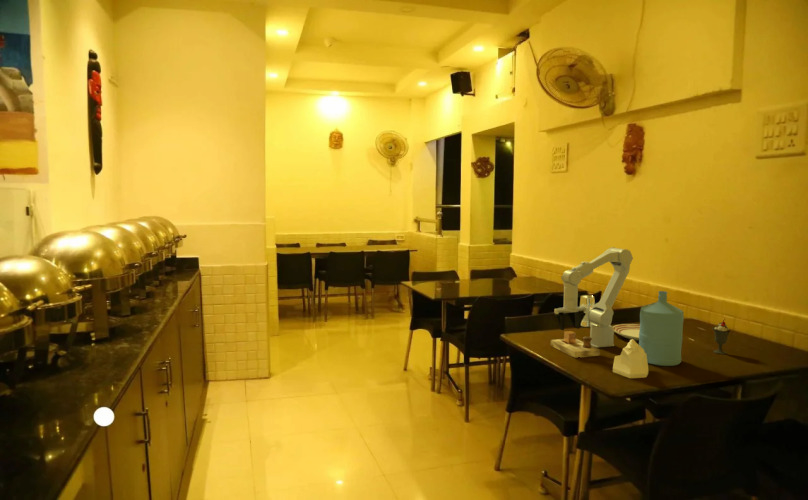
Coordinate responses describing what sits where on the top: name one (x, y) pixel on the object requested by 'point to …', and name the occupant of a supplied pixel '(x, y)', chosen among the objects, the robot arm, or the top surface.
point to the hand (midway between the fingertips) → (569, 328)
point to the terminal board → (576, 347)
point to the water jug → (661, 332)
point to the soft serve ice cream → (631, 361)
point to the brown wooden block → (569, 337)
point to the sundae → (721, 336)
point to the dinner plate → (628, 331)
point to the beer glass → (588, 303)
